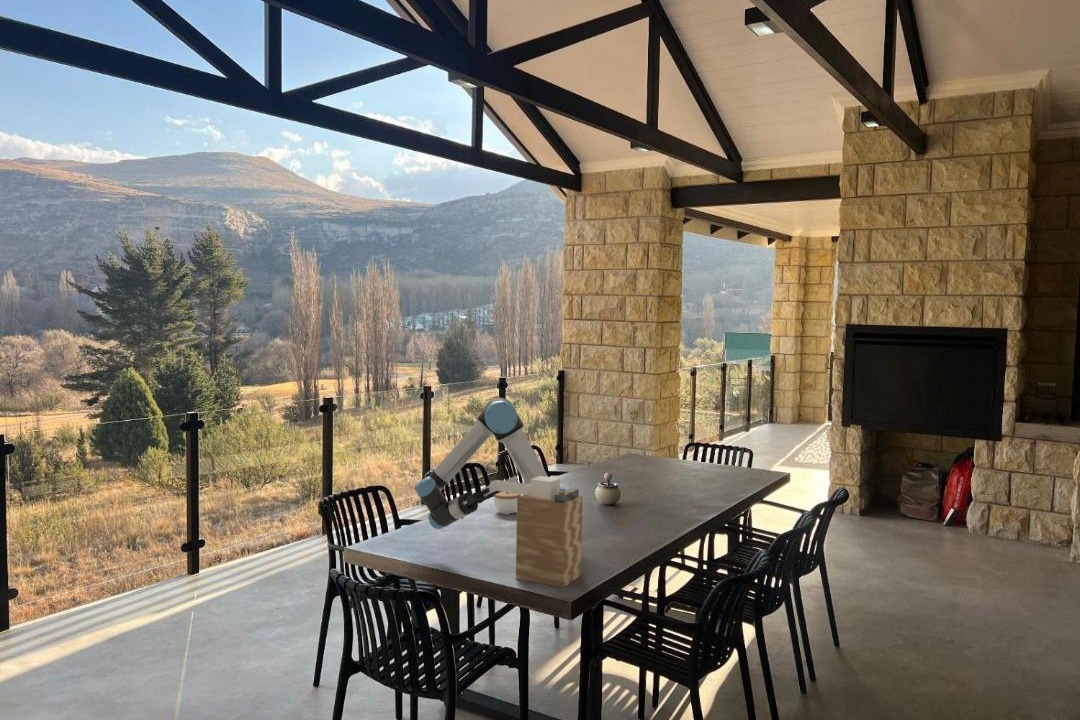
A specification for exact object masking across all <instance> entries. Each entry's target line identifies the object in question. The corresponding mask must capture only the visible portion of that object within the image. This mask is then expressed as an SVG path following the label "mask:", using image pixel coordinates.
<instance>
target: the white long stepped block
mask: <svg viewBox="0 0 1080 720" xmlns="http://www.w3.org/2000/svg"><path fill="white" fill-rule="evenodd" d="M494 482H496V483H497V485H498V488H499V489H498V490H496V491H503V492H510V493H517V494H521V495H530V497H537V498H544V499H553V498H555V495H556V494H558V493H559V492H560V488H561V478H559V477H551V476H548V477H545V476H538V477H535V478H532V479H530V484H526V483H525V482H524V483H522V482H518V483H516V482H509V481H506V480H499V479H494V480H492V481H490V485H491V484H493V483H494Z"/></svg>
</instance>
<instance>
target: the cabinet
mask: <svg viewBox="0 0 1080 720" xmlns="http://www.w3.org/2000/svg"><path fill="white" fill-rule="evenodd" d="M582 524H583V496H582V495H579V488H572V487H571V488H568V489H566V491H561V492H559V493H558V494H556V495H555V498H553V499H544V498H537V497H530V495H524V494H521V496H520V497H517V510H516V543H515V544H516V547H515V548H516V551H515V553H516V556H515V557H516V558H515V579H516V578H517V579H518V580H521V579H522V581H527V582H531V581H532V583H536V582H537V584H541V583H542V585H546V584H547V586H551V585H552V586H553V587H556V586H558V587H557V588H561V587H562V589H563V588H565V587H566V586H568V585H569V584H571V583H572V582H574V581H576V580H577V579H578V578H580V577H582V536H583V535H582V533H583V530H582V529H583V528H582V527H583V525H582ZM579 576H580V577H579ZM576 578H577V579H576ZM570 582H571V583H570Z"/></svg>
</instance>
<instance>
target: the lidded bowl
mask: <svg viewBox="0 0 1080 720" xmlns="http://www.w3.org/2000/svg"><path fill="white" fill-rule="evenodd" d="M520 496H522V494H517V493H510V492H503V491H502V492H500V493H498V494H496V495H493V504H494V507H495V509H496V510H497V511H498V512H500V513H502V514H501V515H511V514H510V513H514V512H515V513H516V512H517V497H520ZM500 513H499V514H500ZM515 513H514V514H515Z"/></svg>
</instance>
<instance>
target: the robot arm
mask: <svg viewBox="0 0 1080 720" xmlns="http://www.w3.org/2000/svg"><path fill="white" fill-rule="evenodd" d="M524 427H525V425H524V423H523V421H522V419H521V418H520V416H519V414H518V412H517V410H516V407H515V406H514V404H513V403H512V402H511V401H510V400H508V399H507V398H503V397H497V398H493V399H491V400H490V401H489V402H488V403H487V405H486V406H485V407H484V409H483V411H482V412H481V413H480V414H479V415H478V417H477V418H476V422H475V424H474V425H473V426H472V427H471V428H470V429H469V431H468V432H467V433H465V435H464V436H463V437H462V438H461V440H459V441H458V442H457V444H456V445H455V446H454V447H453V448H452V449H451V450H450V452H449V453H448V454H447V455H446V456H445V457H444V458H443V459H442V461H441V462H440V463H439V464H438V465H437V466H436V467H435V468H434V469H433V470H432V472H430V473H429V475H428V476H426V477H424V478H423V479H421V480H420V481H418V482H417V483H416V484H415V485H414V491H415V492H416V493H417V496H418V497H419V498H420V500H421V501H422V502H423V503H424V505H425V506H426V508H427V509H428V511H429V513H428V517H427V519H428V521H429V525H430V526H431V527H432V528H434V529H435V530H441V529H444V528H445V527H448V526H450V525H451V524H454V523H455V522H457V521H459V520H460V519H461V520H464V519H465V517H467V516H468V515H471V514H473V513H474V512H476V511H477V510H478V507H479V504H482V503H483V502H484V501H486V500H489V499H490V498H492V497H494V495H496V494H498V493H500V492H502V491H496V490H498V489H499V488H498V485H497V483H496V482H494V483H493V484H491V483H490V484H489V485H487V486H485V487H483V488H482V489H480V490H478V491H475V492H473V493H472V492H469V491H467V492H465V493H463V494H460V496H459V495H458V496H457V497H455V498H453V499H452V500H450V501H448V499H447V498H446V496H444V494H443V492H442V491H443V489H444V488H446V486H447V485H448V484H449V482H451V480H453V478H454V477H455V476H456V475H457V474H458V473H459V471H460V470H461V469H462V468H463V467H464V466H465V465H466V464H467V463H468V461H469V460H470V459H471V458H472V457H473V456H474V455H475V454H476V453H477V451H479V449H481V448H482V446H483V445H484V444H485V443H486V441H488V439H490V437H491V436H493V437H494V438H495V439H496V441H497V442H499V443H502V444H503V446H504V447H505V450H506V452H507V453H508V454H509V456H510V459H511V460H512V462H513V463H514V465H515V467H516V469H517V470H518V472H519V474H520V476H521V478H522V479H523V481H524V484H530V479H532V478H535V477H538V476H545V477H549V476H548V474H547V472H546V470H545V469H544V467H543V465H542V463H541V462H540V460H539V458H538V456H537V454H536V452H535V451H534V449H533V447H532V445H531V444H530V442H529V440H528V438H527V437H526V435H525V432H524ZM505 481H509V482H516V483H520V482H519V480H518V478H517V475H514V476H512V477H510V478H508V479H506V480H505ZM566 490H567V489H566V488H565V487H560V492H561V491H566Z"/></svg>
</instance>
